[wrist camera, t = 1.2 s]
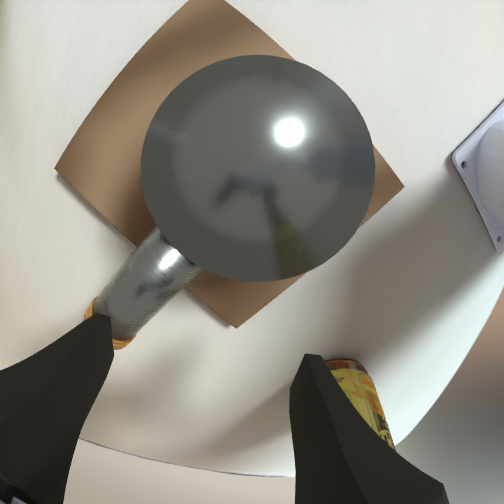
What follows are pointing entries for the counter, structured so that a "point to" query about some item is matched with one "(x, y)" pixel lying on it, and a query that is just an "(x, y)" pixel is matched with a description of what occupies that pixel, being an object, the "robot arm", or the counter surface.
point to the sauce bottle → (361, 394)
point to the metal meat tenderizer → (243, 183)
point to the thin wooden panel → (136, 125)
